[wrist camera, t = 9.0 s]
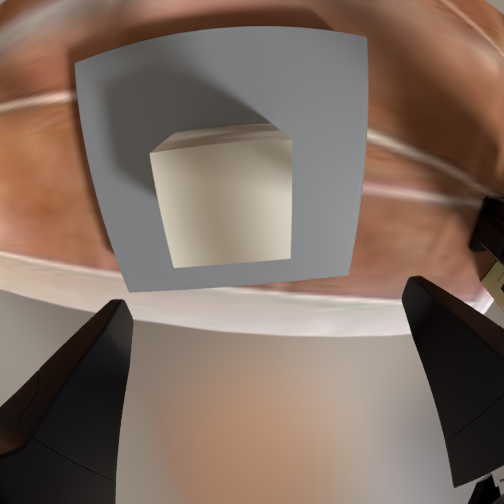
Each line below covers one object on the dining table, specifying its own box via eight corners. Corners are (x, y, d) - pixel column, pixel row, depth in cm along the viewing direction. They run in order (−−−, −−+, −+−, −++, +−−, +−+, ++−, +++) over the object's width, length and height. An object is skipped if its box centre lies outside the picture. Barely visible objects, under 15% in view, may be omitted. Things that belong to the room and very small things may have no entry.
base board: (346, 43, 13) (366, 36, 10) (335, 252, 22) (348, 275, 19) (96, 64, 12) (74, 63, 10) (138, 268, 21) (129, 292, 18)
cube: (271, 123, 13) (292, 139, 9) (273, 209, 16) (290, 258, 12) (175, 132, 13) (149, 153, 9) (188, 216, 16) (173, 268, 11)
